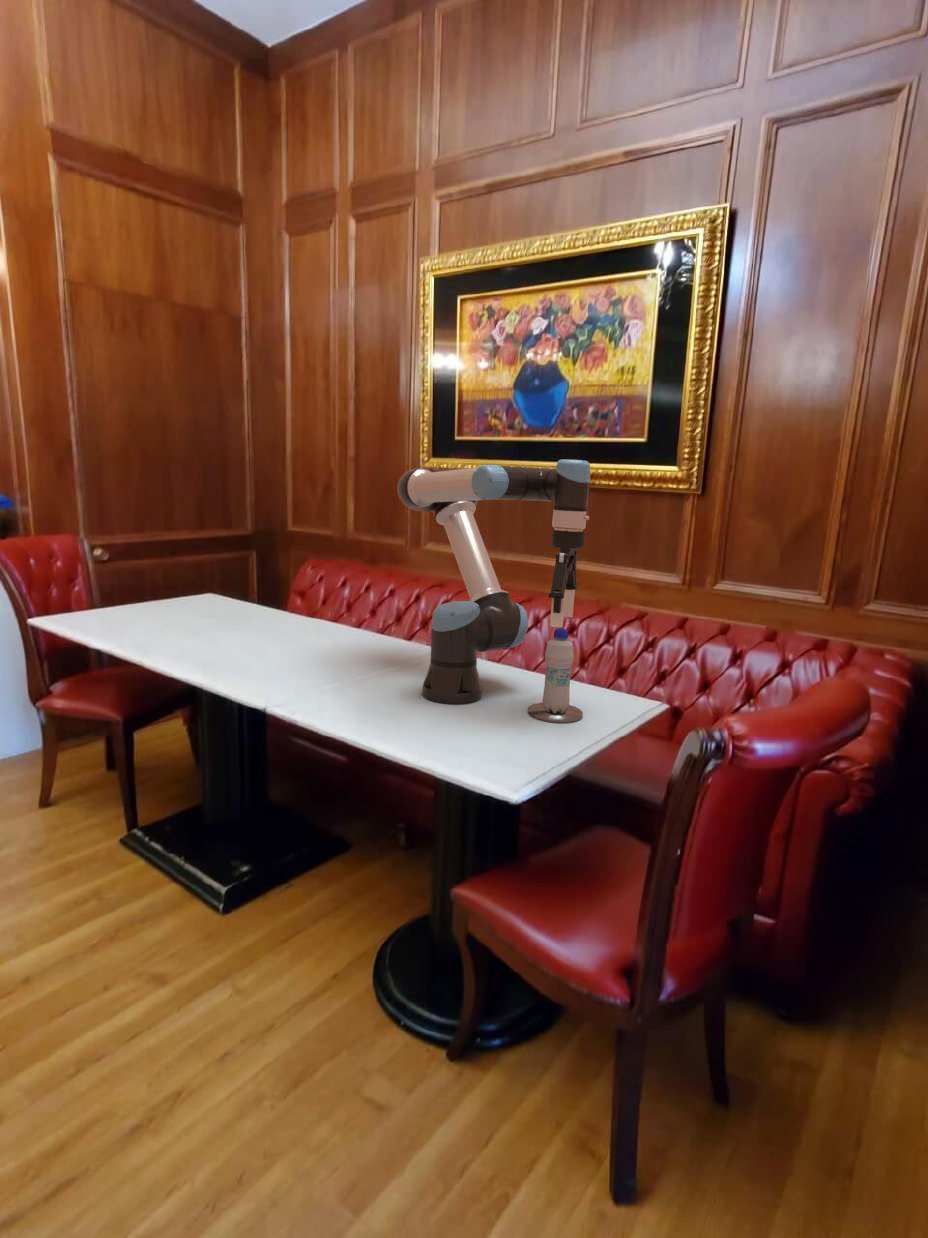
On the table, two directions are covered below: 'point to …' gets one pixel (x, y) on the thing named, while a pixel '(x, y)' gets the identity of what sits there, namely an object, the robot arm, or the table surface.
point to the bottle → (558, 672)
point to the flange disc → (555, 714)
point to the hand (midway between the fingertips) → (561, 621)
